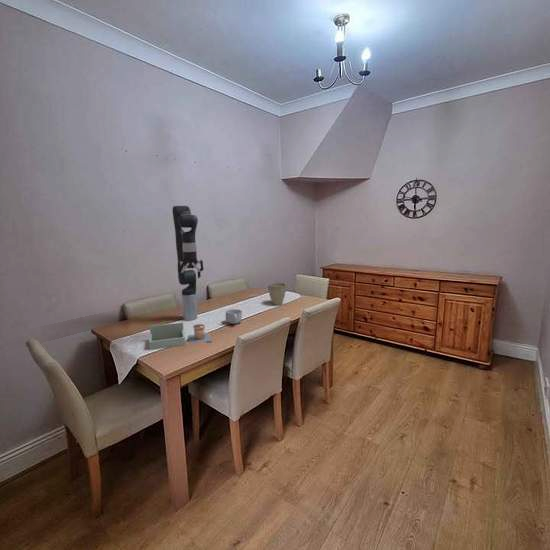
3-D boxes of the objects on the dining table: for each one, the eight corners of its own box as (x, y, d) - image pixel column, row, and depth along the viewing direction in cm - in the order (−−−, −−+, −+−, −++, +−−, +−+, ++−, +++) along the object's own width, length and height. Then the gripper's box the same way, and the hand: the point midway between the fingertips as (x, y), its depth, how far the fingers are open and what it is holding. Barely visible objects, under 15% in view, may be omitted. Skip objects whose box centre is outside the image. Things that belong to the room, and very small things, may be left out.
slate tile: (187, 337, 176) (187, 335, 175) (208, 334, 180) (208, 332, 179) (189, 345, 164) (189, 343, 164) (211, 342, 168) (211, 340, 168)
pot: (193, 336, 174) (192, 324, 173) (204, 335, 176) (204, 323, 175) (194, 340, 168) (193, 328, 167) (206, 339, 170) (205, 327, 169)
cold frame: (150, 341, 170) (149, 325, 168) (183, 337, 176) (182, 322, 174) (149, 351, 157) (148, 334, 156) (185, 346, 163) (184, 330, 161)
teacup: (226, 320, 205) (226, 308, 203) (242, 319, 206) (242, 308, 204) (224, 327, 191) (224, 315, 190) (241, 326, 192) (241, 314, 191)
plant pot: (287, 301, 249) (287, 282, 246) (285, 306, 235) (285, 286, 232) (269, 300, 251) (269, 282, 248) (266, 306, 237) (266, 286, 234)
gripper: (201, 249, 179) (202, 276, 182) (176, 250, 174) (177, 278, 177) (203, 250, 172) (204, 278, 175) (176, 251, 167) (178, 280, 170)
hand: (191, 278), depth 176 cm, fingers open, 8 cm apart
